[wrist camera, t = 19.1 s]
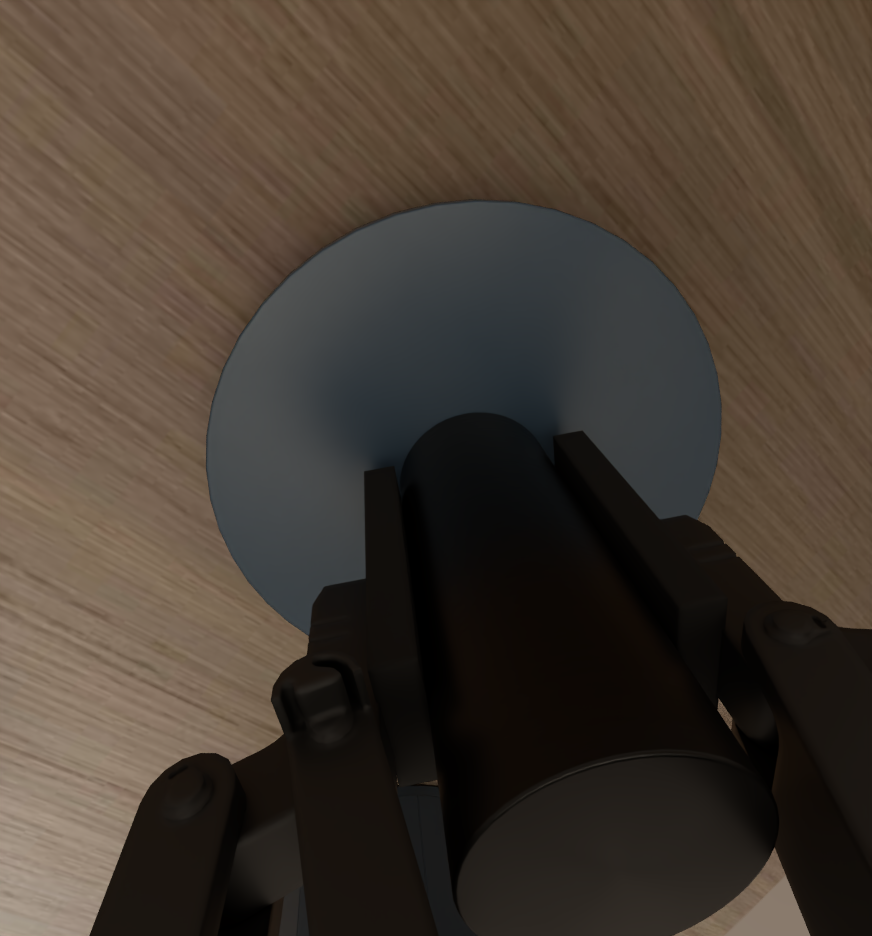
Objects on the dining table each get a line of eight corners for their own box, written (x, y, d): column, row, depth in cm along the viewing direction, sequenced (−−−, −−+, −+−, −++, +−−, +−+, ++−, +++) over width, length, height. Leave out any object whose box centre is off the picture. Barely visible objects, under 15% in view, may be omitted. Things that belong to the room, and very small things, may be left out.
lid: (794, 317, 16) (1486, 545, 6) (568, 680, 21) (750, 1122, 11) (295, 93, 13) (58, -204, 3) (170, 594, 18) (-70, 1125, 8)
